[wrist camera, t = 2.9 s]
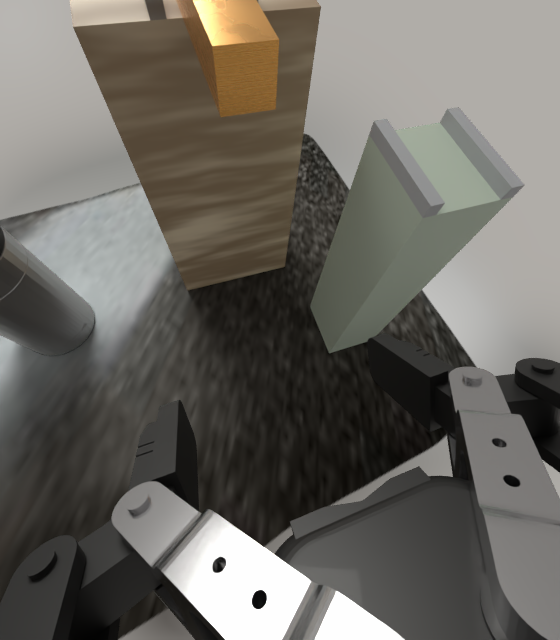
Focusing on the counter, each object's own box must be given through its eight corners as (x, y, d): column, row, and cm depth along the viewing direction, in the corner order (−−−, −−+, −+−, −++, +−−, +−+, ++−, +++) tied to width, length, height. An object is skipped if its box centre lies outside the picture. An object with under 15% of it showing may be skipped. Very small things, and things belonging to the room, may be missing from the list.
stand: (284, 266, 50) (323, -14, 20) (187, 290, 47) (63, 4, 17) (260, 204, 55) (262, -95, 25) (171, 222, 53) (53, -91, 22)
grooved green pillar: (371, 340, 46) (524, 184, 20) (329, 353, 45) (430, 206, 18) (350, 295, 49) (458, 107, 22) (309, 306, 48) (374, 120, 21)
